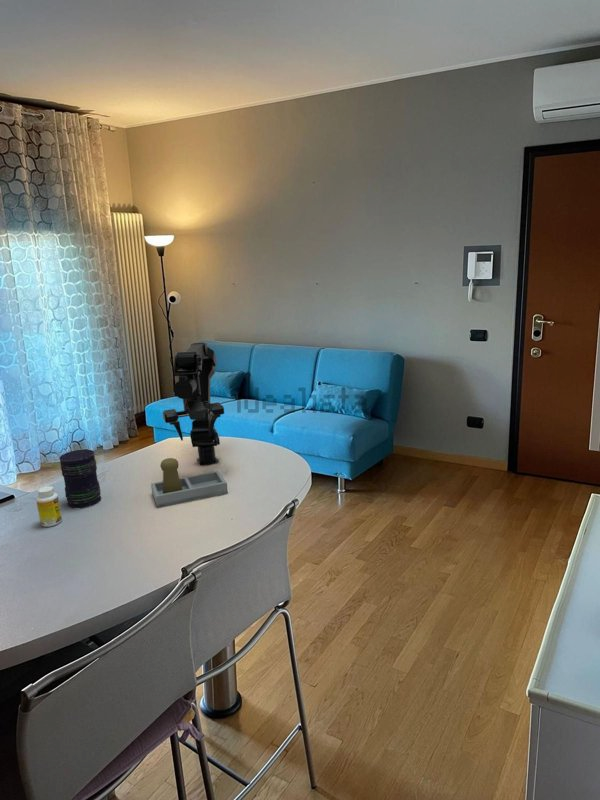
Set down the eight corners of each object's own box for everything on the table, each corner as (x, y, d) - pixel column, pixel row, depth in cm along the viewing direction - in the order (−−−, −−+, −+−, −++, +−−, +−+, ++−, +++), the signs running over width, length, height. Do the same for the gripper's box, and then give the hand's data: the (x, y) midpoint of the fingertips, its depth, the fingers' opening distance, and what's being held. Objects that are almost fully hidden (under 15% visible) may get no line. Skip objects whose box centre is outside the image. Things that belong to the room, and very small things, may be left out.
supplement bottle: (60, 525, 160) (54, 491, 158) (39, 529, 159) (32, 494, 157) (63, 517, 166) (57, 483, 163) (42, 520, 164) (36, 486, 162)
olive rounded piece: (185, 489, 177) (181, 455, 174) (179, 498, 171) (175, 463, 168) (166, 489, 178) (162, 456, 175) (159, 498, 172) (155, 463, 169)
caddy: (152, 494, 178) (150, 483, 177) (219, 480, 185) (218, 470, 184) (157, 507, 168) (155, 496, 167) (227, 493, 175) (226, 482, 174)
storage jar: (60, 505, 174) (51, 458, 170) (85, 493, 182) (78, 447, 178) (83, 510, 169) (75, 462, 165) (108, 497, 177) (101, 451, 174)
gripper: (165, 400, 173) (171, 450, 176) (226, 392, 179) (230, 440, 183) (159, 393, 183) (165, 440, 187) (217, 385, 189) (222, 430, 193)
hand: (196, 438), depth 187 cm, fingers open, 9 cm apart
